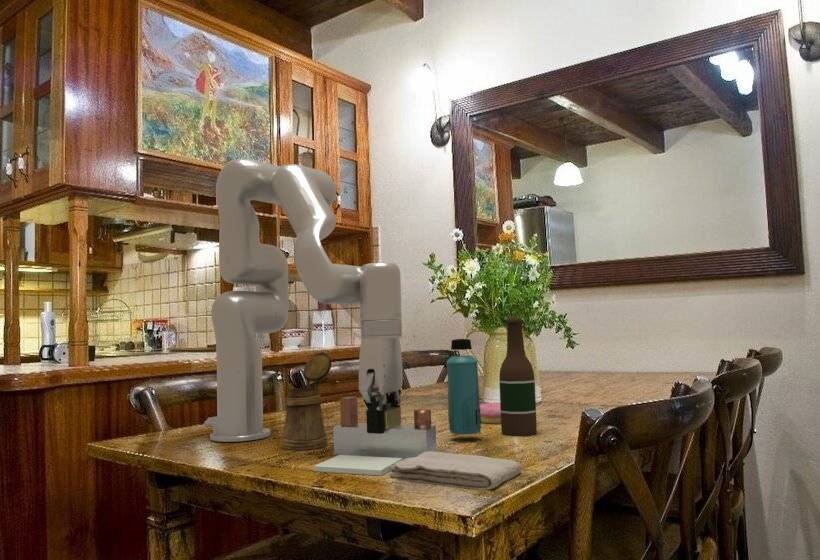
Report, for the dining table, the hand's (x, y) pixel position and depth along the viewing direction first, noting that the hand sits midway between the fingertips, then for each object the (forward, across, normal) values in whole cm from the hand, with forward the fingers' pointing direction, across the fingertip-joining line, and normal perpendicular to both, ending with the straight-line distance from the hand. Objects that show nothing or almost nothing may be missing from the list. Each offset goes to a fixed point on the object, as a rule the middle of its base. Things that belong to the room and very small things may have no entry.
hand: (384, 428), depth 114 cm
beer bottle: (+5, -26, +19) cm, 33 cm away
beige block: (-1, 0, 0) cm, 1 cm away
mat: (+4, +10, 0) cm, 11 cm away
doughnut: (+5, -41, +11) cm, 43 cm away
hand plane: (+4, 0, 0) cm, 4 cm away
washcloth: (+5, +12, +17) cm, 21 cm away
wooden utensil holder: (+5, -6, -19) cm, 20 cm away
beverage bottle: (+5, -17, +10) cm, 20 cm away
